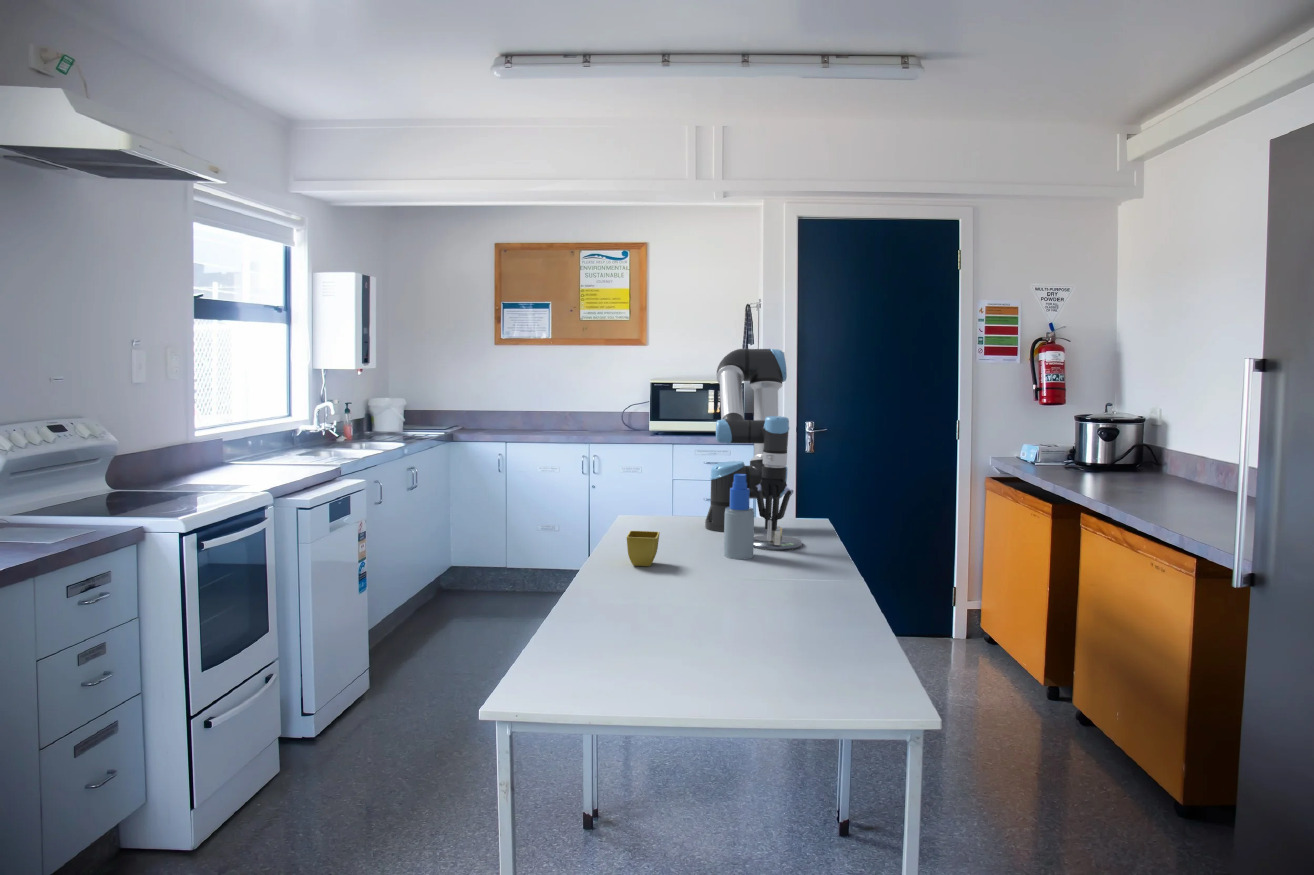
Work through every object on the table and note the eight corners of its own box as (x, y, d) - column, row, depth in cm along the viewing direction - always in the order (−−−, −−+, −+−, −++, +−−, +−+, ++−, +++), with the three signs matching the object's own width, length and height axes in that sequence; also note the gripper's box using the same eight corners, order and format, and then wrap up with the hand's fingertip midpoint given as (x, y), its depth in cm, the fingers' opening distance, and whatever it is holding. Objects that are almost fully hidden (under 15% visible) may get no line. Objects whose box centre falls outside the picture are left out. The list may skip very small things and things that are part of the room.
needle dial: (767, 538, 263) (767, 524, 262) (781, 538, 263) (781, 524, 262) (770, 545, 252) (770, 531, 252) (784, 546, 252) (784, 531, 252)
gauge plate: (754, 537, 272) (754, 532, 271) (805, 541, 266) (805, 536, 266) (743, 548, 256) (743, 543, 255) (796, 552, 250) (796, 548, 250)
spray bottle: (751, 552, 250) (753, 472, 248) (754, 559, 241) (756, 476, 239) (723, 552, 250) (724, 472, 248) (724, 559, 241) (726, 476, 239)
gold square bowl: (659, 561, 238) (659, 531, 238) (656, 568, 230) (656, 537, 229) (630, 560, 239) (630, 530, 238) (626, 567, 231) (626, 536, 230)
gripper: (750, 465, 252) (746, 539, 254) (789, 469, 245) (784, 545, 248) (760, 462, 258) (756, 535, 261) (797, 466, 252) (793, 541, 254)
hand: (770, 540), depth 254 cm, fingers closed
